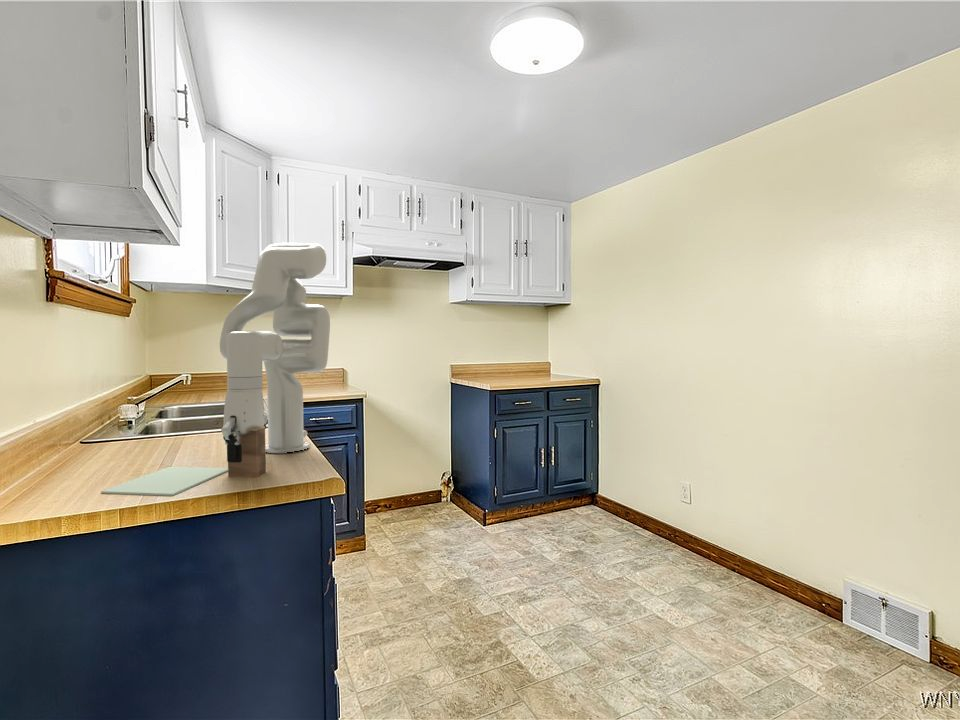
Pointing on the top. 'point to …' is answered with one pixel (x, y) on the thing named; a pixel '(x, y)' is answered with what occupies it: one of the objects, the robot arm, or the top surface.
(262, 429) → the walnut slab
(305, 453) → the top surface
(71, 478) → the top surface
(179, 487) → the sage mat
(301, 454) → the top surface
